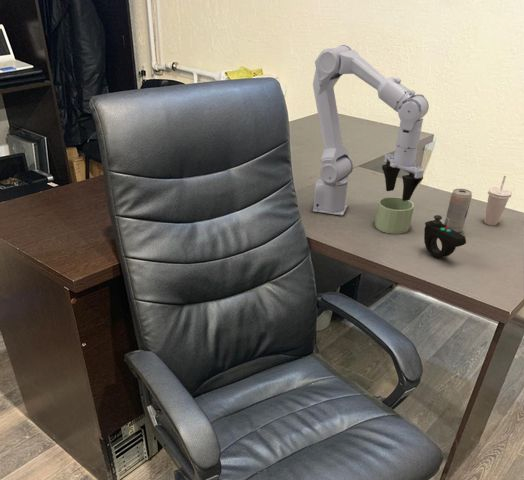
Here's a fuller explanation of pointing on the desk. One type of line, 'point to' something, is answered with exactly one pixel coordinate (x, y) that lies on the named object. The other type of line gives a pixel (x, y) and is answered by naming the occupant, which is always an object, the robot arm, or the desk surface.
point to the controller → (441, 238)
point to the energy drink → (458, 209)
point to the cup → (394, 215)
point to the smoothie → (496, 203)
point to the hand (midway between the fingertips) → (397, 195)
